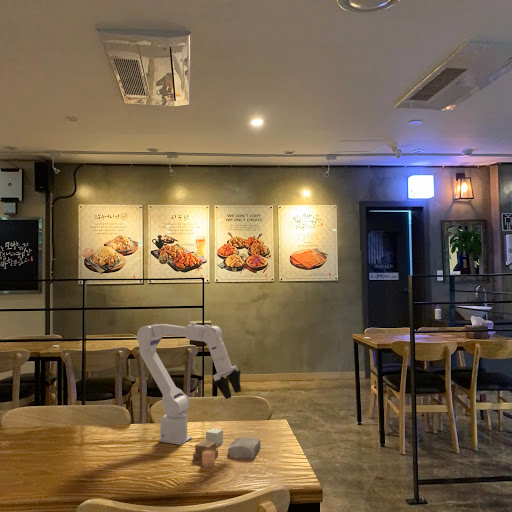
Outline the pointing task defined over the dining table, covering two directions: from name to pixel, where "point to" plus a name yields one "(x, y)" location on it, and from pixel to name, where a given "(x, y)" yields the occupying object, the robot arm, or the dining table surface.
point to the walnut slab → (199, 456)
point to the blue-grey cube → (215, 436)
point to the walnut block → (205, 446)
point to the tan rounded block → (208, 459)
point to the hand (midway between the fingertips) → (233, 395)
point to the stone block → (244, 447)
